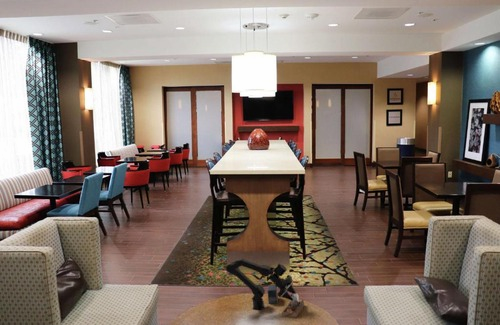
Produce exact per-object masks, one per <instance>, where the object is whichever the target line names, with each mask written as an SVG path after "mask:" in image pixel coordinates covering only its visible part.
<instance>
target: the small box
mask: <svg viewBox="0 0 500 325" xmlns="http://www.w3.org/2000/svg"><path fill="white" fill-rule="evenodd" d="M267 301H268V305H270V304H278V301H279V296H278V287H277V286H276V287H275V284H269V285H268V286H267Z"/></svg>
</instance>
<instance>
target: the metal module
mask: <svg viewBox="0 0 500 325" xmlns="http://www.w3.org/2000/svg"><path fill="white" fill-rule="evenodd" d="M289 295H290V296H291V297H292V298H293V300H289V302H290V301H291V307H298V306H299V302H300V299H299V293H296V294H292V293H291V294H289Z"/></svg>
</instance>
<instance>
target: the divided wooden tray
mask: <svg viewBox="0 0 500 325" xmlns="http://www.w3.org/2000/svg"><path fill="white" fill-rule="evenodd" d="M304 306H305V303H304V300H303V299H302V300H301V301H299V306H298V307H291V301H290V300H289V302H288V303H287V305H286V306H285V308H284V309H283V310H282V312H281V314H282V318H283V317H287V318H298V316H299V315H300V313H301V312H302V309H303V308H304Z"/></svg>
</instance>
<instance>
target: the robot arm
mask: <svg viewBox="0 0 500 325" xmlns="http://www.w3.org/2000/svg"><path fill="white" fill-rule="evenodd" d="M225 267H226V268H225V271H226V272H227V273H229V274H230V275H232V276H235V277H237V278H238V279H239V280H240V281H241V282H242V283H243V284H244V285H245V286H247V287H248V288H249V289H250V291H251V292H252V294H253V296H252V298H251V300H252V306H253V307H252V310H256V311H257V310H259V311H260V310H262V309H263V308H264V307H265V303H264V301H265V300H264V299H263V297H264V295H265V291H266V290H265V287H264V286H262V285H261V284H260V283H259V284H256V283H254V282H253V280H251V279H250V278H249V277H248V276H247V275H246V274H245V273H244V272H242V271H241V270H240V267H244V268H246V269H249V270H252V271H256V272H257V273H258V274H260V276H263V277H266V281H267V282H269V281H271V282H272V284H273V285H275V287H276V286H277V289H278V290H279V291H278V292H277V294H278V298H284V299H287V300H289V301H290V300H293V298H292V297H291V296H290V295H291V294H297V292H296V290H295V289H294V287H293V284H294V283H293V282H294V281H293V276H292V275H290V274H287V275H286V277H285V278H283V275H284V274H285V273H286V272H287V266H285V265H283V264H281V263H278V264H277V266H276V267H273V266H272V267H271V266H269V265H265V264H259V263H255V262H252V261H249V260H246V259H244V258H240V259H238V260H237V259H236V260H235V261H229V263H228V264H227V265H226V266H225ZM289 293H291V294H289Z"/></svg>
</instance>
